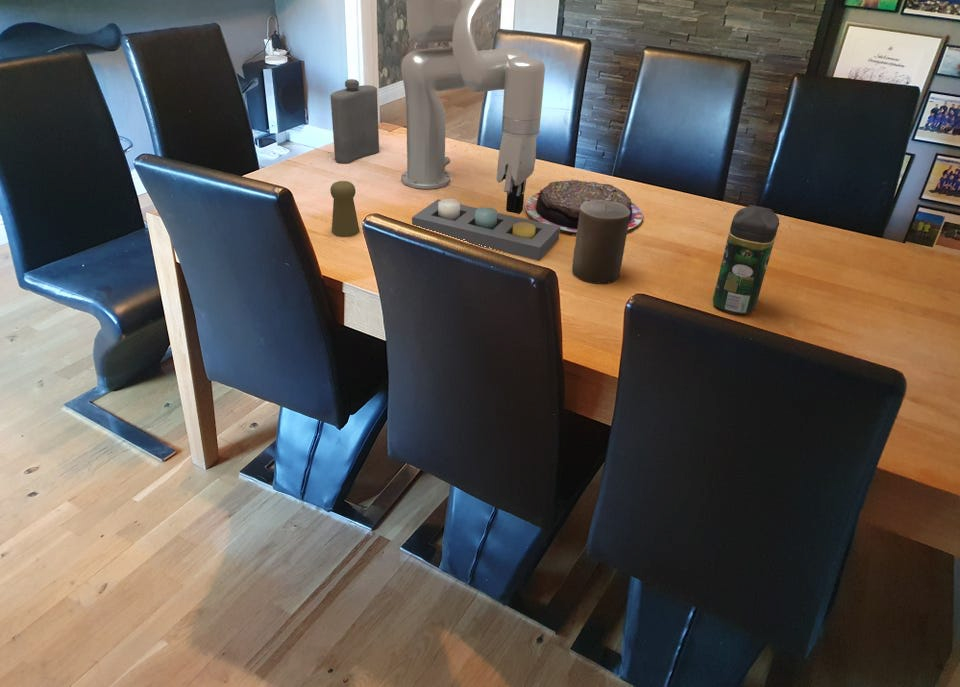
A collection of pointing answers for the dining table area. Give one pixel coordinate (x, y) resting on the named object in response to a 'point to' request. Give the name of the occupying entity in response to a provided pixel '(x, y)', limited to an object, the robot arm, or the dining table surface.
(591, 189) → the chocolate cake
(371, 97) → the flask
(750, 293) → the coffee jar
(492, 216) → the teal button
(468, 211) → the console
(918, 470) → the dining table surface
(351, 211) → the cork
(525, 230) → the mustard button
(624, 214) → the pillar candle
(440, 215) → the ivory button
